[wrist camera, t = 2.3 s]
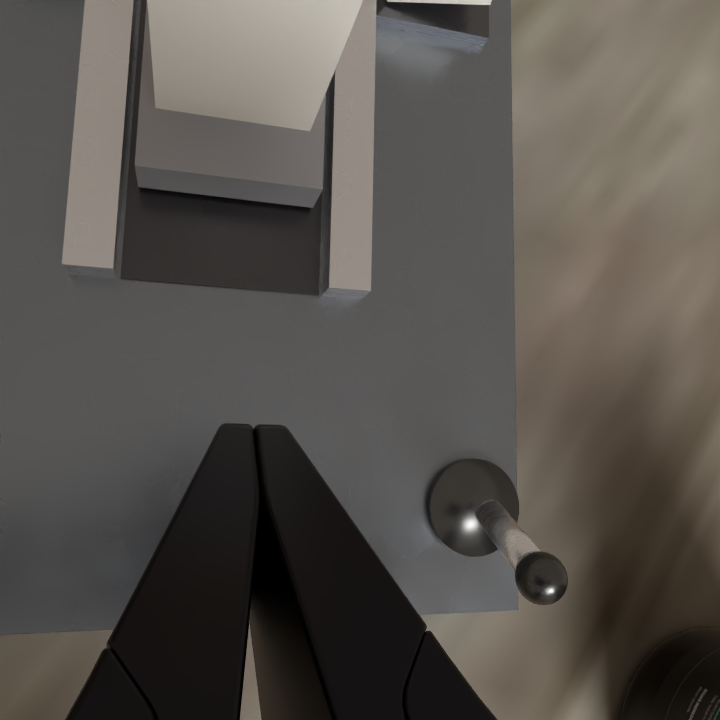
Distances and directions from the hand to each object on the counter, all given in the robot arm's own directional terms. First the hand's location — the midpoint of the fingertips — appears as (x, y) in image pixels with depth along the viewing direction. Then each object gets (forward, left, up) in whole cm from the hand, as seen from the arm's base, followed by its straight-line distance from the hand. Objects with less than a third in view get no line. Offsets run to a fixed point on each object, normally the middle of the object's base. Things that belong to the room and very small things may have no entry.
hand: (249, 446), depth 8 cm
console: (+5, -6, -11) cm, 13 cm away
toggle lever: (-7, -4, -8) cm, 11 cm away
